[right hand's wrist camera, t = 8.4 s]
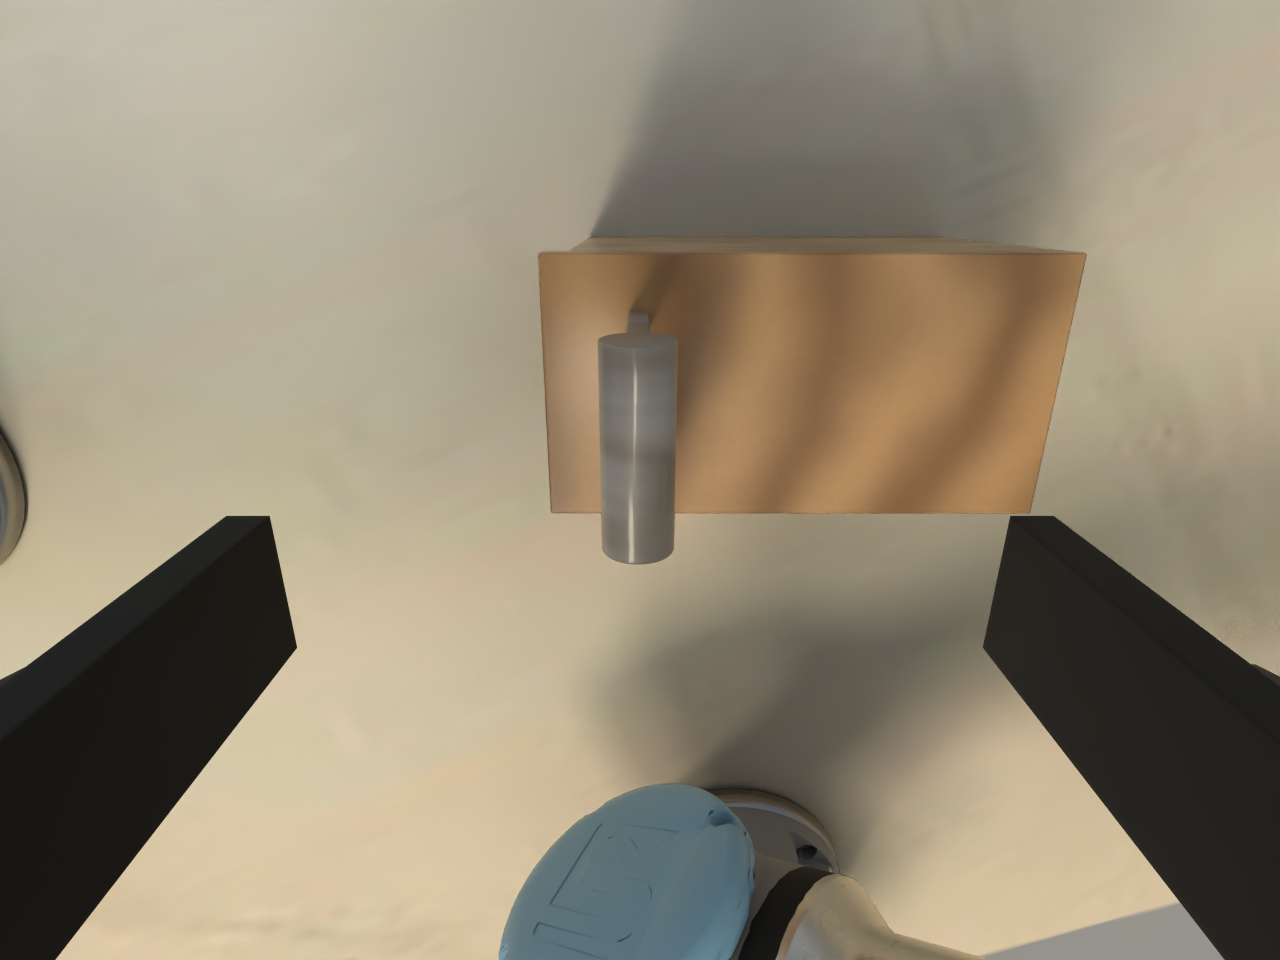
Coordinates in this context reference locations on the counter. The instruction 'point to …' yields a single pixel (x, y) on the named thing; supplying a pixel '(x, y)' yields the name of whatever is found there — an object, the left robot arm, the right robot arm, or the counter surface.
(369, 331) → the counter surface
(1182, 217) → the counter surface
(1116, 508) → the counter surface
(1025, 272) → the lid
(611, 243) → the chest
